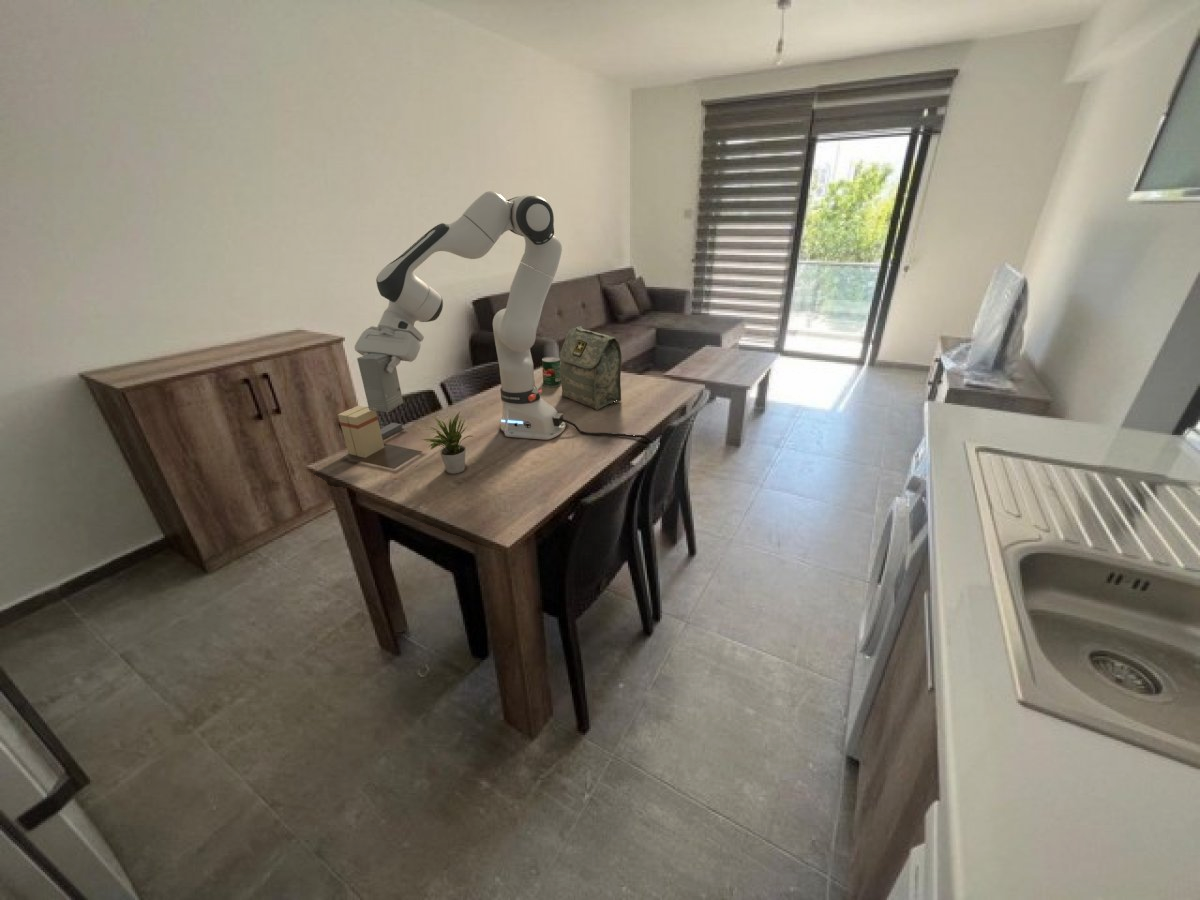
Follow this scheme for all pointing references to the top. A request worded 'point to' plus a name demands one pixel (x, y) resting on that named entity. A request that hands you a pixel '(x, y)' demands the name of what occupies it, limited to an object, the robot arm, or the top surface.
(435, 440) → the house plant
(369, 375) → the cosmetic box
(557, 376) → the canned tomato
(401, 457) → the brown flat rectangular panel
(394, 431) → the blue-grey rectangular block
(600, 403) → the lunch bag
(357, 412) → the cream boxes
